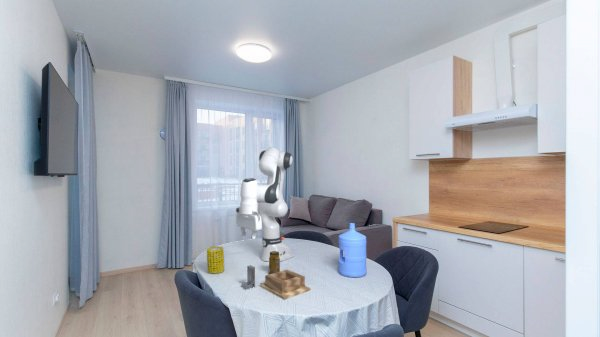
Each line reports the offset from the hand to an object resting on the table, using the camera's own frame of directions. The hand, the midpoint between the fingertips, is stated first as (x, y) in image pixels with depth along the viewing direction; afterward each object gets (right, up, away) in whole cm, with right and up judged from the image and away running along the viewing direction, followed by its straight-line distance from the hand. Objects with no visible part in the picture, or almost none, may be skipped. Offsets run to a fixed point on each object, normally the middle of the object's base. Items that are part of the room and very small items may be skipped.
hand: (248, 237), depth 148 cm
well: (+19, -24, -5) cm, 31 cm away
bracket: (+1, -24, -3) cm, 25 cm away
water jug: (+56, -24, +16) cm, 63 cm away
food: (-22, -25, +19) cm, 39 cm away
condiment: (+12, -25, +16) cm, 32 cm away
